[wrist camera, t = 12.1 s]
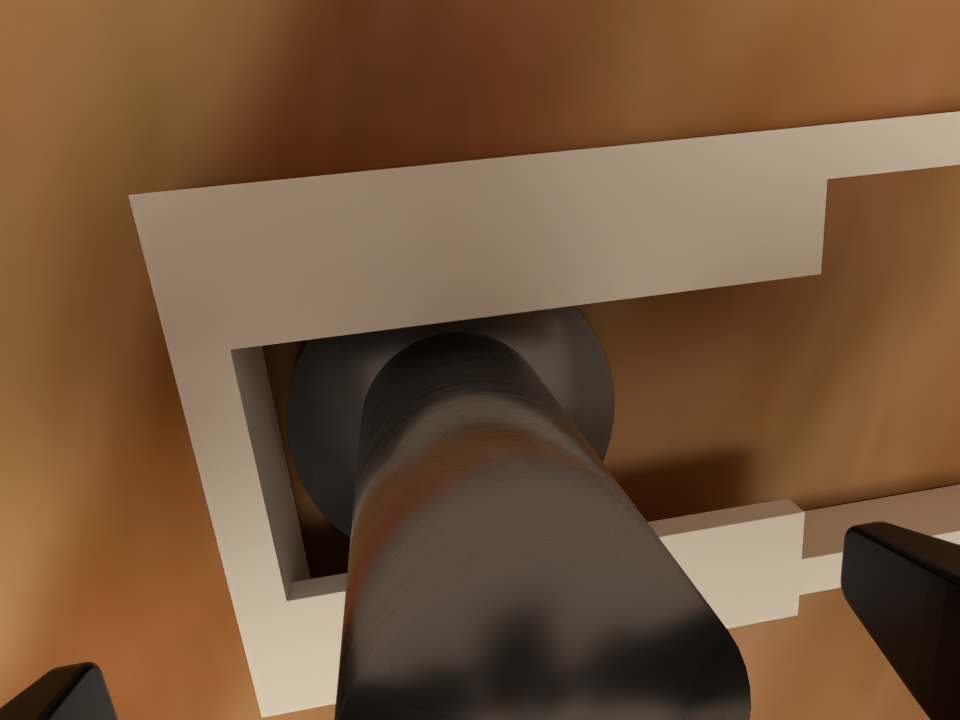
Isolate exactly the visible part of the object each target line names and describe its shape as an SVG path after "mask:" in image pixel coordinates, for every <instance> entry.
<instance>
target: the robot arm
mask: <svg viewBox="0 0 960 720" xmlns="http://www.w3.org/2000/svg"><path fill="white" fill-rule="evenodd" d="M840 582H841V588H842V592H843V595H844V597H845V599H846V601H847V602H848V604H849V606H850V607H851V608H852V610H853V611H854V613H855V614H856V616H857V617H858V618H859V620H860V621H861V623H862V624H863V626H864V627H865V628H866V630H867V631H868V633H869V634H870V636H871V637H872V638H873V640H874V641H875V643H876V644H877V646H878V647H879V648H880V650H881V651H882V653H883V654H884V656H885V657H886V658H887V660H888V661H889V663H890V664H891V666H892V667H893V668H894V670H895V671H896V673H897V674H898V676H899V677H900V678H901V680H902V681H903V683H904V684H905V686H906V687H907V688H908V690H909V691H910V693H911V694H912V696H913V697H914V698H915V700H916V701H917V702H918V704H919V705H920V706H921V708H922V709H923V710H924V712H925V713H926V714H927V716H928V717H929V718H930V720H960V545H958V544H955V543H952V542H949V541H945V540H942V539H939V538H936V537H932V536H929V535H926V534H923V533H919V532H916V531H913V530H910V529H906V528H903V527H900V526H897V525H893V524H890V523H887V522H881V521H876V522H870V523H865V524H859V525H854V526H852V527H850V528H848V530H847V531H846V533H845V536H844V545H843V556H842V567H841V578H840ZM0 720H118V718H117V714H116V711H115V708H114V706H113V703H112V700H111V697H110V694H109V691H108V688H107V685H106V682H105V680H104V677H103V674H102V671H101V669H100V668H99V666H98V665H97V664H95V663H92V662H84V663H78V664H72V665H67V666H61V667H57V668H54V669H52V670H50V671H49V672H47V673H46V674H45V675H43V676H42V677H41V678H39V679H38V680H37V681H35V682H34V683H33V684H32V685H30V686H29V687H28V688H26V689H25V690H24V691H22V692H21V693H20V694H18V695H17V696H16V697H14V698H13V699H12V700H10V701H9V702H8V703H7V704H5V705H4V706H3V707H1V708H0Z"/></svg>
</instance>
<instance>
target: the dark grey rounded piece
mask: <svg viewBox="0 0 960 720" xmlns="http://www.w3.org/2000/svg"><path fill="white" fill-rule="evenodd" d="M613 421H614V392H613V382H612V377H611V373H610V369H609V365H608V361H607V359H606V356H605V354H604V351H603V349H602V346H601V344H600V342H599V340H598V338H597V337H596V335H595V333H594V331H593V330H592V328H591V326H590V325H589V324H588V322H587V321H586V320H585V318H584V317H583V316H582V315H581V313H580V312H579V311H578V310H577V309H576V308H575V307H574V306H567V307H560V308H552V309H544V310H536V311H529V312H521V313H513V314H505V315H497V316H490V317H482V318H474V319H466V320H458V321H451V322H443V323H435V324H427V325H419V326H412V327H404V328H396V329H388V330H380V331H373V332H365V333H357V334H349V335H341V336H334V337H326V338H318V339H310V340H308V341H307V344H306V346H305V348H304V350H303V352H302V354H301V357H300V359H299V361H298V363H297V366H296V369H295V372H294V376H293V379H292V382H291V385H290V391H289V397H288V403H287V434H288V442H289V448H290V452H291V455H292V459H293V463H294V466H295V469H296V471H297V473H298V476H299V478H300V480H301V482H302V485H303V486H304V488H305V490H306V491H307V493H308V494H309V496H310V498H311V499H312V501H313V502H314V504H315V505H316V506H317V507H318V508H319V510H320V511H321V512H322V513H323V514H324V516H325V517H326V518H327V519H328V520H329V521H330V522H332V523H333V524H334V525H335V526H336V527H337V528H338V529H339V530H340V531H342V532H343V533H345V534H346V535H347V536H349V537H350V538H351V539H350V550H349V561H348V573H347V584H346V595H345V606H344V617H343V629H342V640H341V651H340V662H339V674H338V685H337V696H336V707H335V718H334V720H750V712H751V699H750V685H749V680H748V675H747V670H746V666H745V664H744V661H743V658H742V656H741V653H740V651H739V648H738V646H737V645H736V643H735V641H734V640H733V638H732V636H731V635H730V633H729V631H728V630H727V628H726V627H725V626H724V624H723V623H722V622H721V620H720V619H719V618H718V616H717V615H716V614H715V612H714V611H713V610H712V608H711V607H710V605H709V604H708V603H707V601H706V600H705V599H704V597H703V596H702V595H701V593H700V592H699V591H698V589H697V588H696V587H695V585H694V584H693V583H692V581H691V580H690V579H689V577H688V576H687V575H686V573H685V572H684V571H683V569H682V568H681V567H680V565H679V564H678V563H677V561H676V560H675V559H674V557H673V556H672V555H671V553H670V552H669V550H668V549H667V548H666V546H665V545H664V544H663V542H662V541H661V540H660V538H659V537H658V536H657V534H656V533H655V532H654V530H653V529H652V528H651V526H650V525H649V524H648V522H647V521H646V520H645V518H644V517H643V516H642V514H641V513H640V512H639V510H638V509H637V508H636V506H635V505H634V504H633V502H632V501H631V500H630V498H629V497H628V495H627V494H626V493H625V491H624V490H623V489H622V487H621V486H620V485H619V483H618V482H617V481H616V479H615V478H614V477H613V475H612V474H611V473H610V471H609V470H608V469H607V467H606V466H605V465H604V463H603V460H604V458H605V455H606V452H607V448H608V445H609V442H610V438H611V433H612V427H613Z"/></svg>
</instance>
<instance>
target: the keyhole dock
mask: <svg viewBox="0 0 960 720" xmlns="http://www.w3.org/2000/svg"><path fill="white" fill-rule="evenodd" d="M951 165H960V111H957V112H947V113H937V114H927V115H917V116H907V117H897V118H887V119H878V120H868V121H858V122H848V123H838V124H828V125H818V126H808V127H798V128H788V129H778V130H768V131H758V132H748V133H738V134H728V135H718V136H708V137H698V138H689V139H679V140H669V141H659V142H649V143H639V144H629V145H619V146H609V147H599V148H589V149H579V150H569V151H559V152H549V153H539V154H529V155H519V156H509V157H499V158H490V159H480V160H470V161H460V162H450V163H440V164H430V165H420V166H410V167H400V168H390V169H380V170H370V171H360V172H350V173H340V174H330V175H320V176H310V177H300V178H291V179H281V180H271V181H261V182H251V183H241V184H231V185H221V186H211V187H201V188H191V189H181V190H171V191H162V192H152V193H142V194H133V195H128V196H129V200H130V204H131V208H132V212H133V216H134V220H135V224H136V227H137V231H138V235H139V239H140V243H141V247H142V251H143V255H144V259H145V263H146V266H147V270H148V274H149V278H150V282H151V286H152V290H153V294H154V298H155V302H156V306H157V309H158V313H159V317H160V321H161V325H162V329H163V333H164V337H165V341H166V345H167V349H168V352H169V356H170V360H171V364H172V368H173V372H174V376H175V380H176V384H177V388H178V391H179V395H180V399H181V403H182V407H183V411H184V415H185V419H186V423H187V427H188V431H189V434H190V438H191V442H192V446H193V450H194V454H195V458H196V462H197V466H198V470H199V473H200V477H201V481H202V485H203V489H204V493H205V497H206V501H207V505H208V509H209V513H210V516H211V520H212V524H213V528H214V532H215V536H216V540H217V544H218V548H219V552H220V555H221V559H222V563H223V567H224V571H225V575H226V579H227V583H228V587H229V591H230V595H231V598H232V602H233V606H234V610H235V614H236V618H237V622H238V626H239V630H240V634H241V638H242V641H243V645H244V649H245V653H246V657H247V661H248V665H249V669H250V673H251V677H252V680H253V684H254V688H255V692H256V696H257V700H258V704H259V708H260V712H261V716H262V718H263V717H269V716H274V715H279V714H284V713H289V712H295V711H300V710H305V709H310V708H316V707H321V706H326V705H331V704H336V696H337V685H338V674H339V662H340V651H341V640H342V629H343V617H344V606H345V595H346V584H347V573H344V574H338V575H332V576H326V577H320V578H314V579H311V577H310V572H309V568H308V563H307V558H306V553H305V548H304V544H303V539H302V534H301V529H300V524H299V520H298V515H297V510H296V505H295V500H294V496H293V491H292V486H291V481H290V476H289V472H288V467H287V462H286V457H285V452H284V448H283V443H282V438H281V433H280V428H279V424H278V419H277V414H276V409H275V404H274V400H273V395H272V390H271V385H270V380H269V376H268V371H267V366H266V361H265V356H264V352H263V347H262V346H264V345H271V344H279V343H287V342H295V341H302V340H310V339H318V338H326V337H334V336H341V335H349V334H357V333H365V332H373V331H380V330H388V329H396V328H404V327H412V326H419V325H427V324H435V323H443V322H451V321H458V320H466V319H474V318H482V317H490V316H497V315H505V314H513V313H521V312H529V311H536V310H544V309H552V308H560V307H567V306H575V305H583V304H591V303H599V302H606V301H614V300H622V299H630V298H638V297H645V296H653V295H661V294H669V293H677V292H684V291H692V290H700V289H708V288H716V287H723V286H731V285H739V284H747V283H755V282H762V281H770V280H778V279H786V278H794V277H801V276H809V275H817V274H821V267H822V252H823V238H824V223H825V208H826V194H827V179H834V178H843V177H852V176H861V175H870V174H879V173H888V172H897V171H906V170H915V169H924V168H933V167H942V166H951ZM876 521H881V522H887V523H890V524H893V525H897V526H900V527H903V528H906V529H910V530H913V531H916V532H919V533H923V534H926V535H929V536H932V537H936V538H939V539H942V540H945V541H949V542H952V543H955V544H958V545H960V485H954V486H948V487H942V488H936V489H931V490H925V491H919V492H913V493H907V494H901V495H896V496H890V497H884V498H878V499H872V500H867V501H861V502H855V503H849V504H843V505H838V506H832V507H826V508H820V509H814V510H809V511H803V510H802V509H801V508H799V507H798V506H797V505H796V504H794V503H793V502H792V501H791V500H789V499H788V498H787V499H781V500H775V501H769V502H763V503H757V504H751V505H746V506H740V507H734V508H728V509H722V510H716V511H710V512H704V513H698V514H692V515H686V516H681V517H675V518H669V519H663V520H657V521H651V522H648V524H649V525H650V526H651V528H652V529H653V530H654V532H655V533H656V534H657V536H658V537H659V538H660V540H661V541H662V542H663V544H664V545H665V546H666V548H667V549H668V550H669V552H670V553H671V555H672V556H673V557H674V559H675V560H676V561H677V563H678V564H679V565H680V567H681V568H682V569H683V571H684V572H685V573H686V575H687V576H688V577H689V579H690V580H691V581H692V583H693V584H694V585H695V587H696V588H697V589H698V591H699V592H700V593H701V595H702V596H703V597H704V599H705V600H706V601H707V603H708V604H709V605H710V607H711V608H712V610H713V611H714V612H715V614H716V615H717V616H718V618H719V619H720V620H721V622H722V623H723V624H724V626H725V627H726V628H727V629H729V628H734V627H739V626H744V625H750V624H755V623H760V622H765V621H771V620H776V619H781V618H786V617H791V616H797V615H798V605H799V595H803V594H808V593H814V592H819V591H824V590H830V589H835V588H840V587H841V582H840V578H841V567H842V556H843V545H844V536H845V533H846V531H847V530H848V528H850V527H852V526H854V525H859V524H865V523H870V522H876Z"/></svg>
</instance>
